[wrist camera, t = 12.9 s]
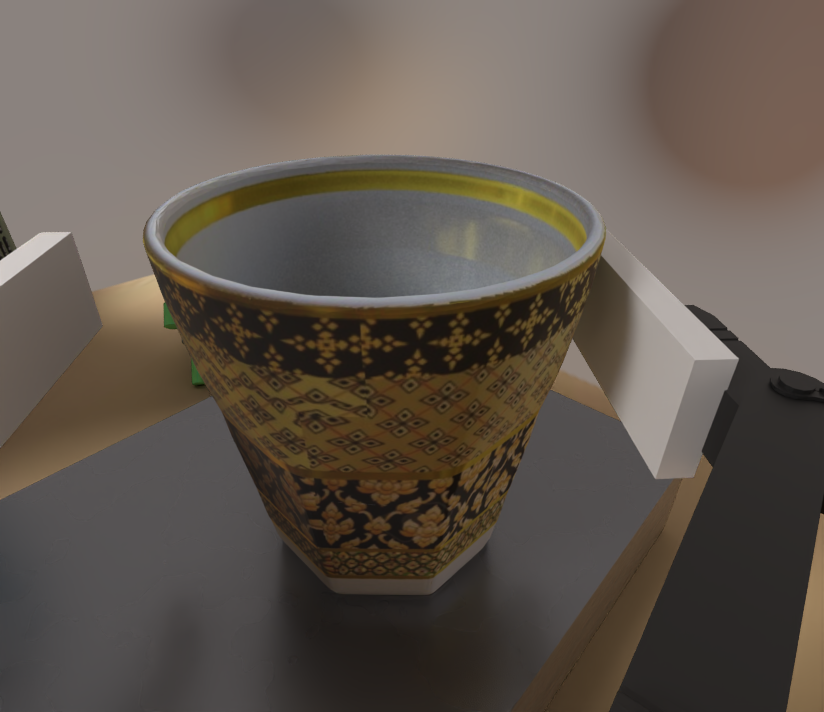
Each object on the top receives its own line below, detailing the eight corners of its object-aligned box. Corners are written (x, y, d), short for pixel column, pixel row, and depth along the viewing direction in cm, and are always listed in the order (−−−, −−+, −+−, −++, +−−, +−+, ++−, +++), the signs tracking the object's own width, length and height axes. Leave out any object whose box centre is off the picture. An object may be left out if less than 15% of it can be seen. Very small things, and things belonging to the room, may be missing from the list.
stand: (-31, 620, 19) (-87, 542, 17) (382, 375, 32) (380, 313, 29) (234, 1184, 10) (188, 1172, 8) (664, 527, 23) (691, 453, 20)
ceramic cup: (604, 512, 18) (689, 206, 13) (370, 760, 12) (344, 383, 7) (350, 356, 26) (335, 126, 20) (131, 460, 20) (30, 175, 14)
